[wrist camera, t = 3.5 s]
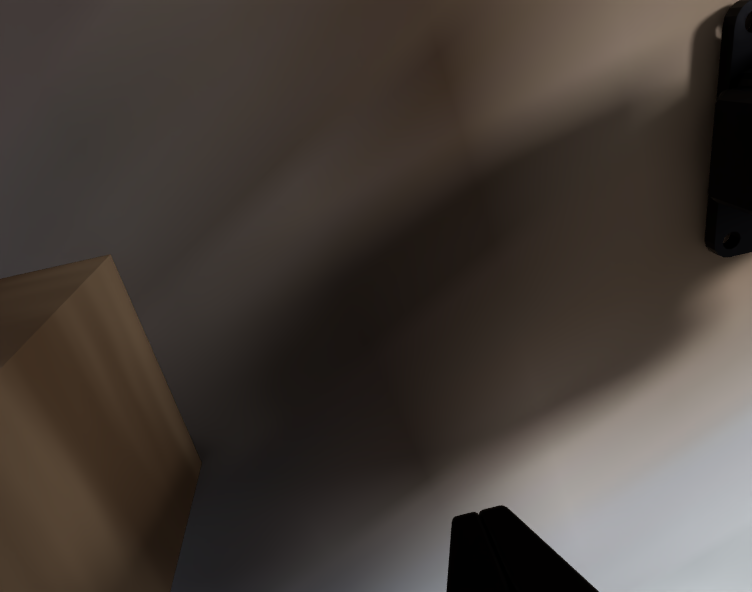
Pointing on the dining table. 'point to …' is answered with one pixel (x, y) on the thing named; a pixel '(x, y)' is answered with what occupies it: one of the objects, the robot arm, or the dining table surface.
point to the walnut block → (86, 439)
